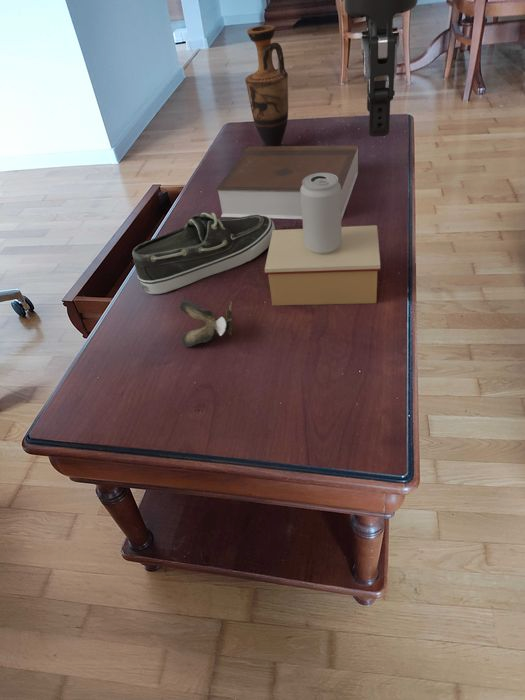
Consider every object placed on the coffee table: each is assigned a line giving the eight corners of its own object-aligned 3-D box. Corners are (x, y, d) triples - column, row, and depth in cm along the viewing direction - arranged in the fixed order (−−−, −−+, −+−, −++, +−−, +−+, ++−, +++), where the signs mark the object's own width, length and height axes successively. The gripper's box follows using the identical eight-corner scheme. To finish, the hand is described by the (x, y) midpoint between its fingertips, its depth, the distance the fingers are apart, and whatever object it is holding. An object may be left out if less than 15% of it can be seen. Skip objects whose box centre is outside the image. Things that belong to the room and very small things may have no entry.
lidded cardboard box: (376, 263, 97) (377, 225, 91) (379, 304, 87) (380, 265, 82) (276, 266, 100) (272, 229, 95) (269, 307, 90) (264, 269, 85)
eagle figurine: (232, 309, 89) (179, 308, 89) (233, 294, 83) (176, 292, 82) (231, 351, 87) (178, 350, 87) (233, 339, 80) (175, 338, 80)
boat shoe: (289, 243, 106) (284, 199, 99) (158, 307, 95) (143, 262, 88) (259, 226, 113) (253, 183, 106) (134, 283, 102) (119, 239, 95)
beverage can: (332, 233, 91) (330, 167, 83) (348, 250, 86) (347, 182, 78) (299, 242, 90) (293, 176, 82) (312, 260, 85) (308, 192, 77)
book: (251, 171, 135) (248, 146, 131) (358, 171, 127) (358, 145, 123) (220, 216, 118) (215, 189, 114) (341, 220, 110) (340, 191, 106)
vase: (250, 160, 141) (232, 35, 121) (261, 145, 148) (247, 24, 128) (288, 160, 138) (276, 32, 118) (298, 144, 145) (288, 21, 125)
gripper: (429, -42, 46) (414, 142, 56) (414, -57, 56) (404, 100, 67) (343, -31, 47) (345, 147, 58) (344, -48, 57) (346, 105, 68)
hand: (377, 122), depth 62 cm, fingers open, 8 cm apart
